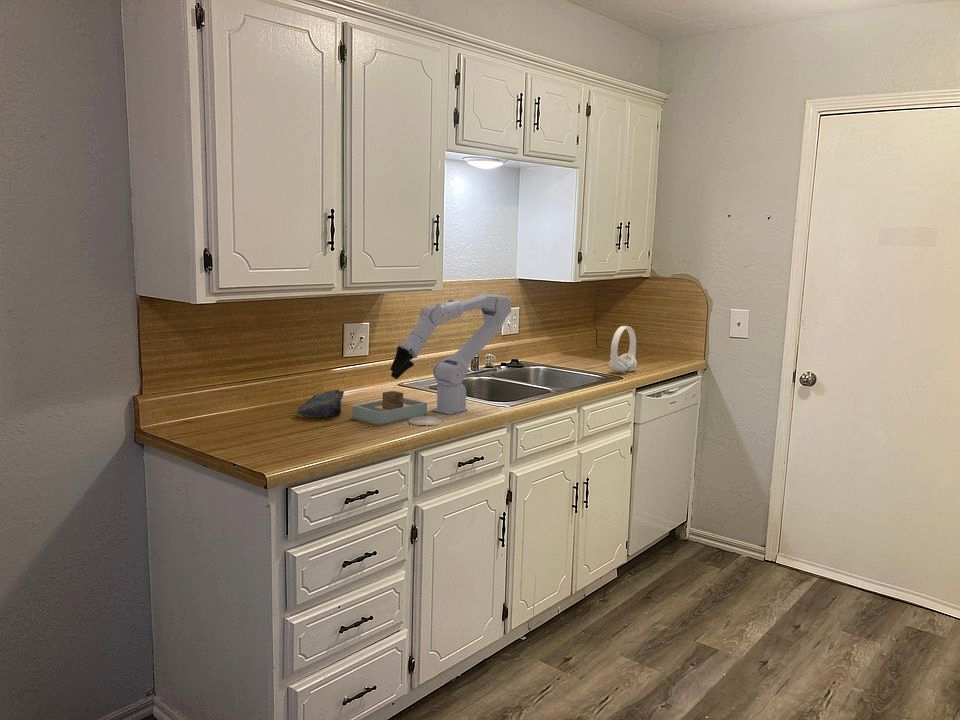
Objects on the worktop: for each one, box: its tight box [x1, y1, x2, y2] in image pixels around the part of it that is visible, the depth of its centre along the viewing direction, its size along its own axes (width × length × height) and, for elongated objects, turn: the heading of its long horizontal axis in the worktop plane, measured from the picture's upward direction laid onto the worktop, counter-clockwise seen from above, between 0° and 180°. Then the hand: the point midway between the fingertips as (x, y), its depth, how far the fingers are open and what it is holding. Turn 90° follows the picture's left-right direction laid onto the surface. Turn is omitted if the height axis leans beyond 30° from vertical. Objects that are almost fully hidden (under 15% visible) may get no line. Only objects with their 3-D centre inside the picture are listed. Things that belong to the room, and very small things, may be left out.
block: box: [382, 390, 404, 410], centre depth 241 cm, size 4×4×5 cm
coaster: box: [408, 415, 443, 427], centre depth 236 cm, size 10×10×1 cm
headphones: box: [607, 325, 638, 374], centre depth 333 cm, size 8×19×20 cm, turn 143°
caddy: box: [351, 397, 428, 427], centre depth 241 cm, size 20×12×4 cm, turn 141°
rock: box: [295, 389, 345, 419], centre depth 239 cm, size 16×8×10 cm
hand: (393, 374), depth 236 cm, fingers open, 7 cm apart
